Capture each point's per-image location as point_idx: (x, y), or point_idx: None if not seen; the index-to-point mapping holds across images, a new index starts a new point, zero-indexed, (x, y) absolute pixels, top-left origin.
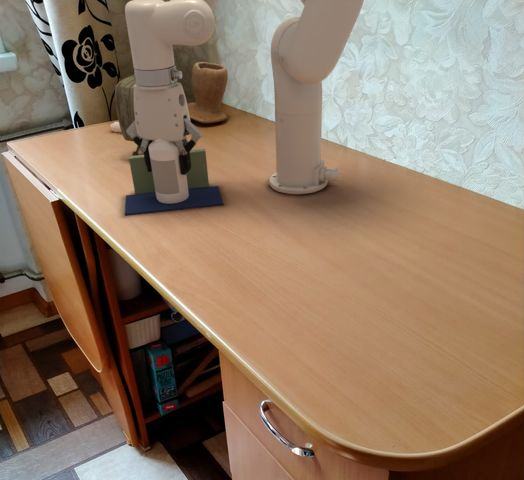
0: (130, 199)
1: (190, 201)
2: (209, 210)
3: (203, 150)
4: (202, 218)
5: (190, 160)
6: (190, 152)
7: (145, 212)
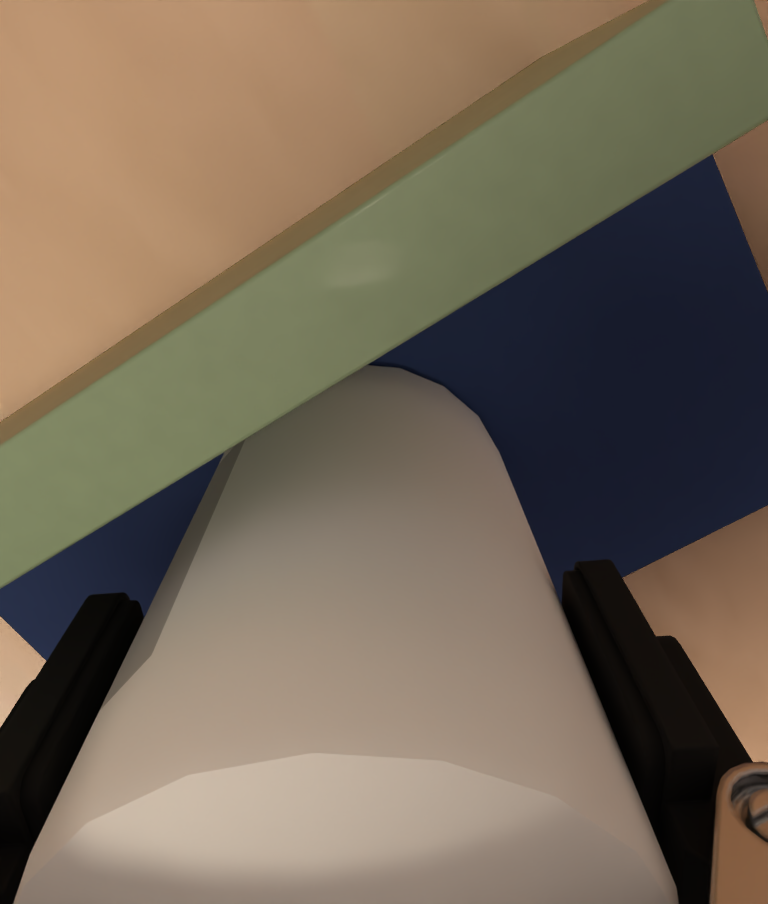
0: (44, 614)
1: (545, 516)
2: (735, 572)
3: (737, 80)
4: (721, 685)
5: (707, 699)
6: (509, 277)
7: None
